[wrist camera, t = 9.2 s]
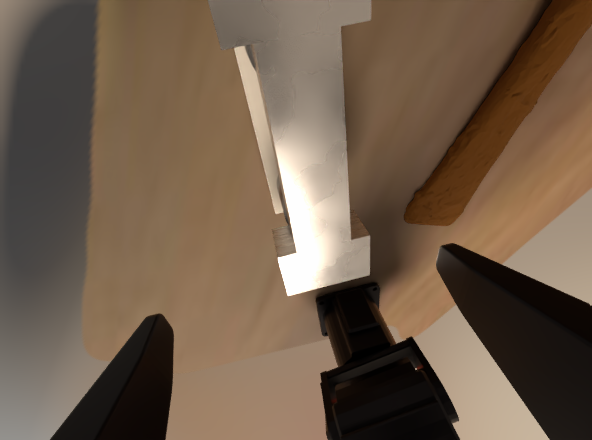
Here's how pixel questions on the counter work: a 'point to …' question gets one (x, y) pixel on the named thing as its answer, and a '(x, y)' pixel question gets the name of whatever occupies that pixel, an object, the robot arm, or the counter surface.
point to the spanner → (305, 129)
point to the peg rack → (260, 124)
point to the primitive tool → (500, 114)
